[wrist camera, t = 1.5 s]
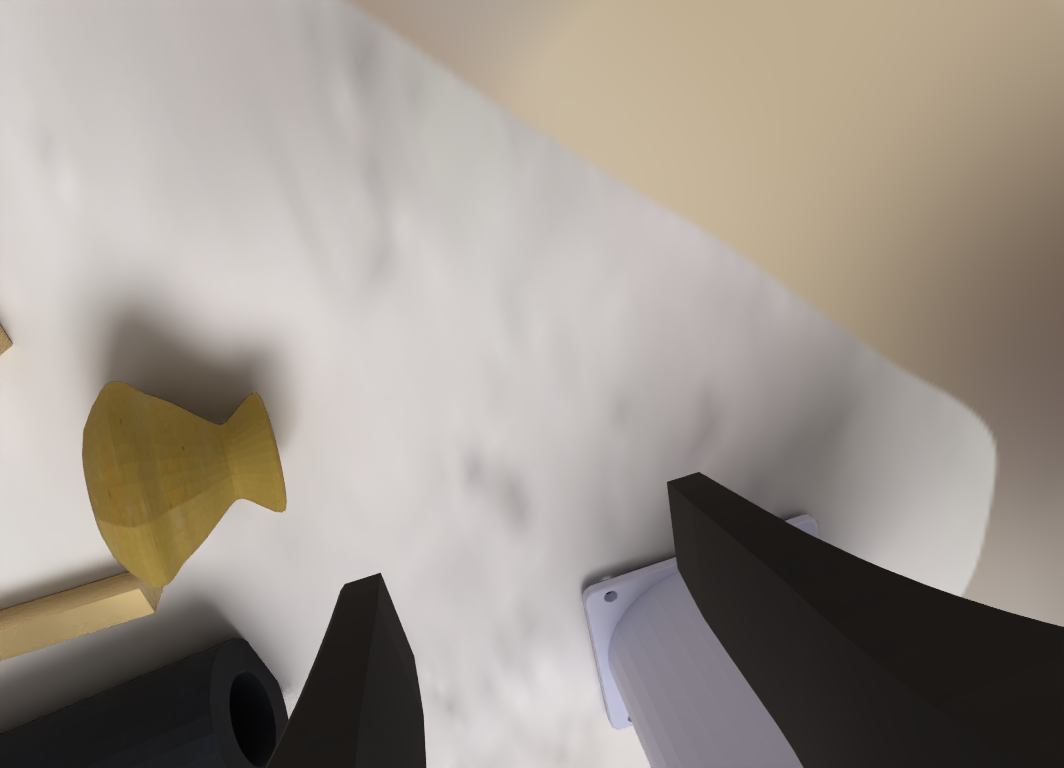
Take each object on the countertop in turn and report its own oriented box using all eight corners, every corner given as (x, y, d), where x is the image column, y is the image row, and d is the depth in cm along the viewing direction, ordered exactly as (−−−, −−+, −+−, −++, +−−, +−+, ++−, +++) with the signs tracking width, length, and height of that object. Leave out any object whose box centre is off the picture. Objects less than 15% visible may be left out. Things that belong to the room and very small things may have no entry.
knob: (136, 516, 20) (74, 646, 15) (89, 353, 17) (1, 450, 13) (304, 496, 21) (292, 612, 16) (280, 340, 18) (258, 425, 14)
